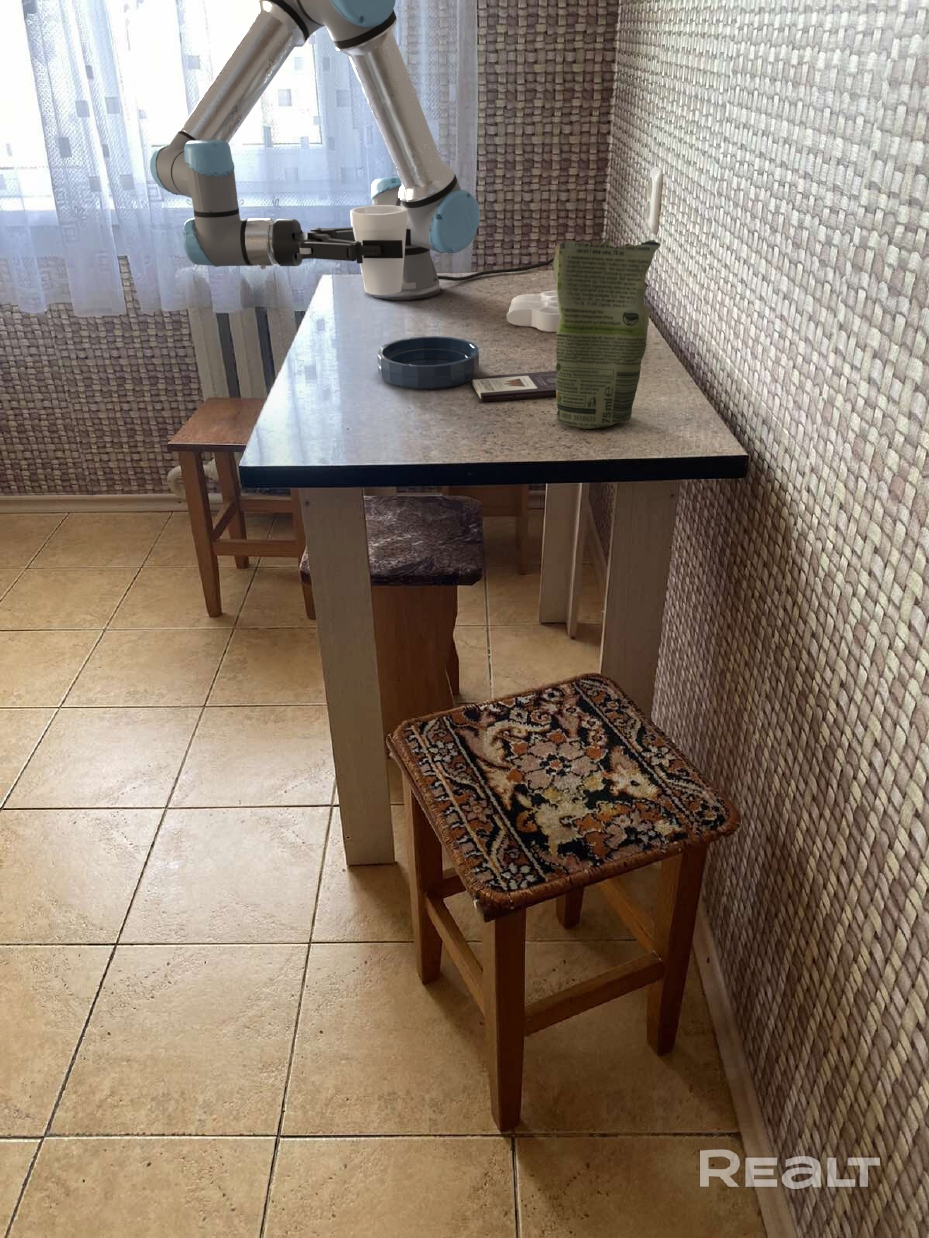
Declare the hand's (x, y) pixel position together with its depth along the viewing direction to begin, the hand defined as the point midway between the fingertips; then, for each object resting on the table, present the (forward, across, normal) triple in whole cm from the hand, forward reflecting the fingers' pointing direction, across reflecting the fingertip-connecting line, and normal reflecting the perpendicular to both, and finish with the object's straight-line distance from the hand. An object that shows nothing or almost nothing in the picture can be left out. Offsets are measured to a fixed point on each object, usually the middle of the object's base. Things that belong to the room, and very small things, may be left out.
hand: (406, 243), depth 159 cm
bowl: (+5, +14, -18) cm, 23 cm away
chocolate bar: (+22, +20, -18) cm, 35 cm away
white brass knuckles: (+24, -21, -18) cm, 36 cm away
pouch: (+32, +33, -18) cm, 49 cm away
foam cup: (-4, 0, -8) cm, 9 cm away
